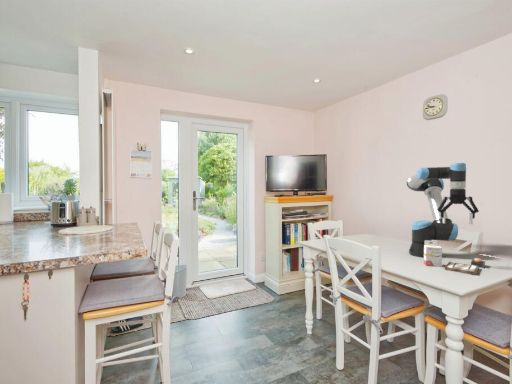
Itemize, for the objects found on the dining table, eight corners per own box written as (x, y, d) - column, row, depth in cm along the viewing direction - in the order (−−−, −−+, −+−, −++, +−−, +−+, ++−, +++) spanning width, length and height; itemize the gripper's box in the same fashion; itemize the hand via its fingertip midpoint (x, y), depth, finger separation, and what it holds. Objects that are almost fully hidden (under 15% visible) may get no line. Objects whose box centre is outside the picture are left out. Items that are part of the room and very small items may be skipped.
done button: (473, 262, 160) (473, 258, 160) (474, 260, 162) (474, 257, 162) (481, 263, 157) (481, 260, 157) (482, 262, 160) (482, 258, 160)
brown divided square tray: (444, 269, 154) (444, 266, 154) (449, 263, 164) (449, 261, 164) (476, 275, 144) (476, 272, 144) (479, 268, 155) (479, 265, 154)
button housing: (471, 265, 160) (471, 261, 160) (472, 263, 164) (472, 259, 164) (484, 267, 156) (484, 263, 156) (485, 265, 160) (485, 261, 160)
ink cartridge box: (425, 265, 162) (425, 241, 161) (423, 263, 166) (423, 240, 166) (442, 267, 159) (442, 242, 158) (439, 264, 164) (439, 240, 163)
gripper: (434, 189, 162) (434, 223, 163) (486, 188, 152) (485, 225, 153) (431, 188, 169) (431, 221, 170) (480, 188, 159) (480, 223, 160)
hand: (457, 223), depth 162 cm, fingers open, 13 cm apart
